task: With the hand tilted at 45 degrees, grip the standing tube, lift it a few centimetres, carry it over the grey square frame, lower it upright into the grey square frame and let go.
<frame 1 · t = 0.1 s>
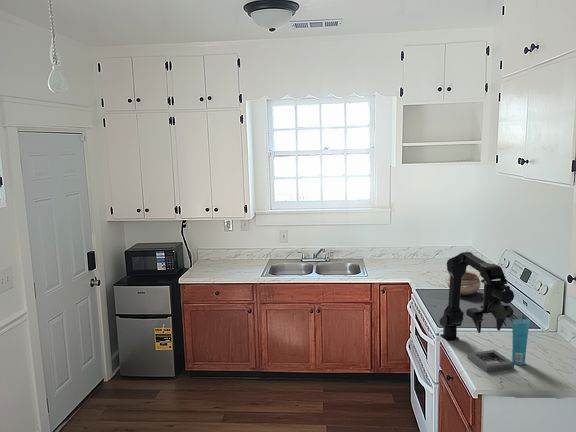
hand: (488, 331, 202), 15 cm above the countertop, tool pointing down, fingers open, 9 cm apart
grey square frame: (490, 363, 205), on the countertop
tube: (517, 362, 205), on the countertop
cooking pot: (463, 294, 294), on the countertop
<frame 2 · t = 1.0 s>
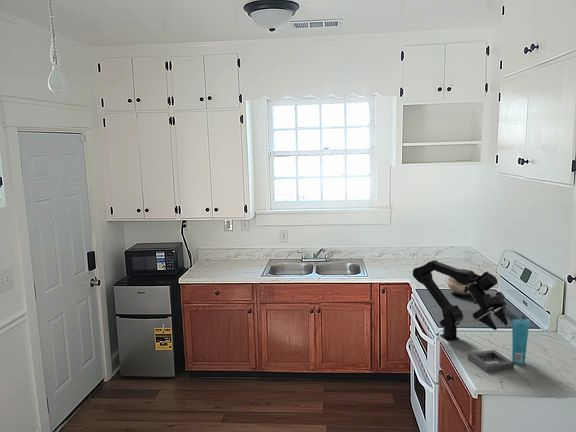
hand: (501, 327, 209), 13 cm above the countertop, tool tilted 45°, fingers open, 9 cm apart
nothing on the countertop moved.
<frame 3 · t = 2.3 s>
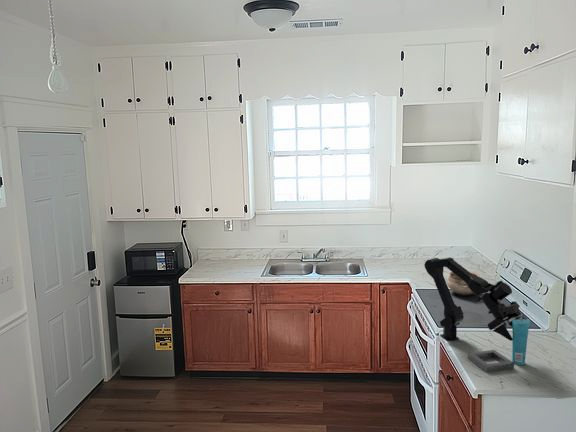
hand: (517, 337, 204), 11 cm above the countertop, tool tilted 45°, fingers open, 9 cm apart
nothing on the countertop moved.
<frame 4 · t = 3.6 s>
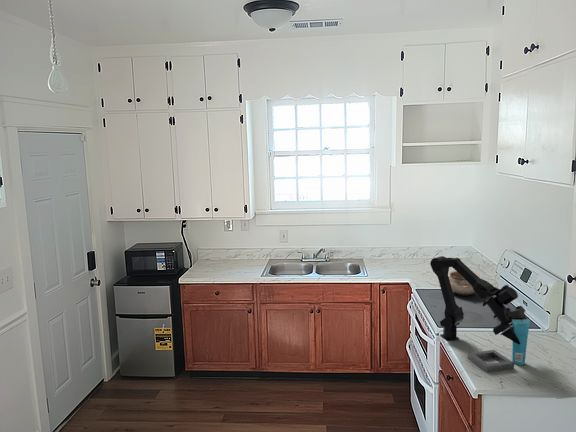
hand: (522, 342, 203), 10 cm above the countertop, tool tilted 45°, fingers closed on tube, 5 cm apart
tube: (517, 362, 205), on the countertop, touching gripper
everything else where it was.
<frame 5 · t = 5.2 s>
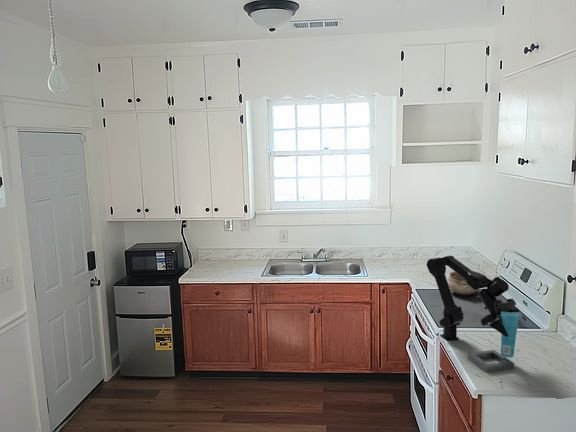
hand: (511, 335, 201), 13 cm above the countertop, tool tilted 45°, fingers closed on tube, 5 cm apart
tube: (506, 355, 204), point 3 cm above the countertop, touching gripper
everything else where it was.
when the fingers open (11 cm above the countertop, at t = 6.8 s): tube drops 1 cm, resting in grey square frame.
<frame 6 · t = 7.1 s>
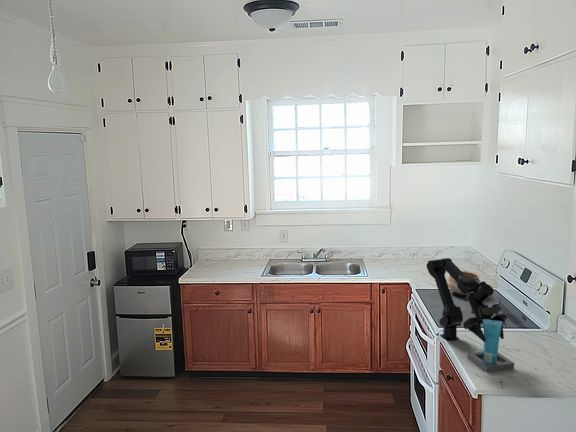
hand: (494, 340, 201), 11 cm above the countertop, tool tilted 45°, fingers open, 9 cm apart
tube: (489, 363, 205), resting in grey square frame, touching gripper
everything else where it was.
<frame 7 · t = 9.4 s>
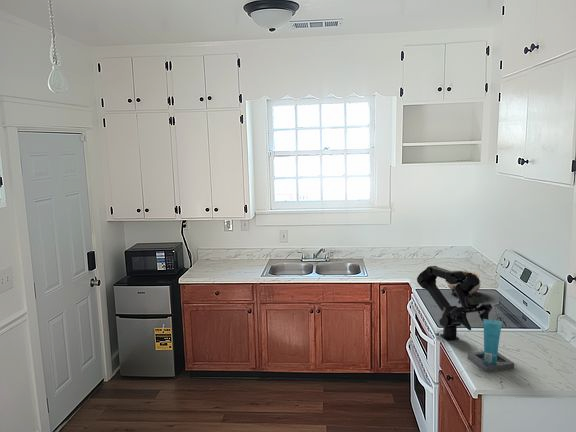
hand: (479, 328, 210), 12 cm above the countertop, tool tilted 45°, fingers open, 9 cm apart
tube: (489, 363, 205), resting in grey square frame
everything else where it was.
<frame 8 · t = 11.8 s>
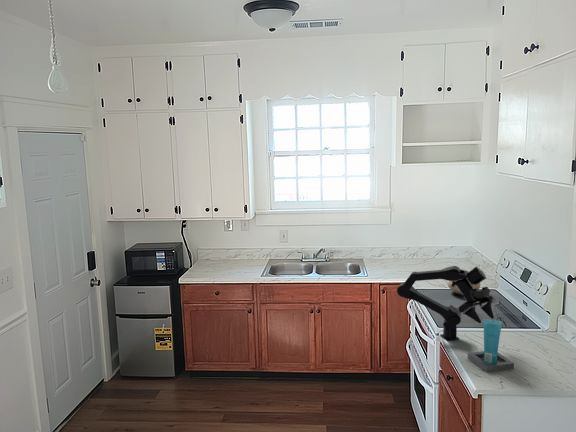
hand: (486, 320, 216), 14 cm above the countertop, tool tilted 45°, fingers open, 9 cm apart
nothing on the countertop moved.
at the end: tube 0.4 cm off-centre on the grey square frame, point 0.0 cm above the grey square frame's base; tube tilted 0°; the gripper is holding nothing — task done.
